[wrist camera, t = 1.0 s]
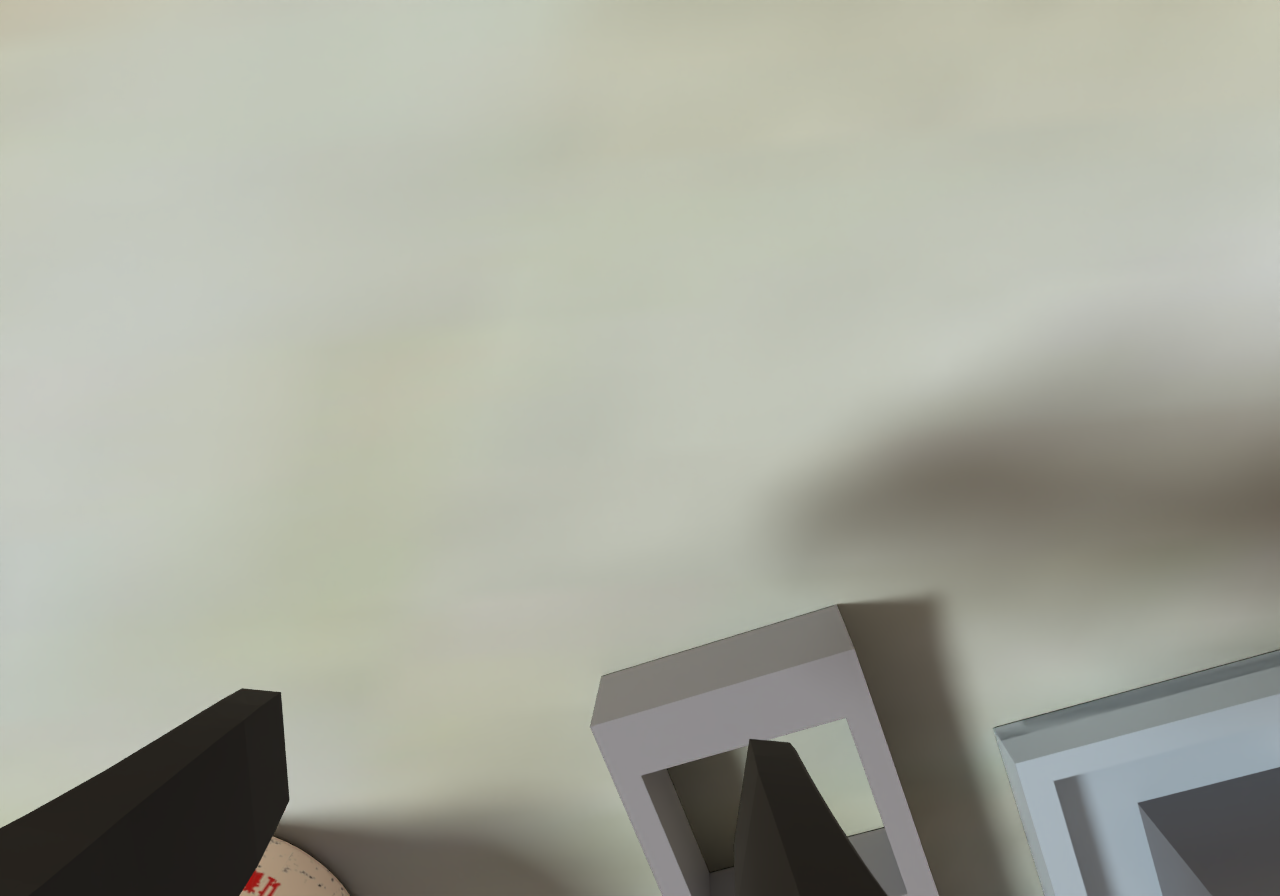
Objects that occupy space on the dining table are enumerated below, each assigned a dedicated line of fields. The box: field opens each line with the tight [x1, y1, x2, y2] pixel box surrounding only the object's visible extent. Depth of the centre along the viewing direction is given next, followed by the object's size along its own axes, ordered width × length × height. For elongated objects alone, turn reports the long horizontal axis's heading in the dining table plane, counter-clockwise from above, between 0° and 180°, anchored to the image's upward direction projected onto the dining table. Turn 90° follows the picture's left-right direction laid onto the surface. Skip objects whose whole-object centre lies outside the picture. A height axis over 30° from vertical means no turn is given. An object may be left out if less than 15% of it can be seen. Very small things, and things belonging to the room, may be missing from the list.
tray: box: [993, 650, 1280, 896], centre depth 22 cm, size 10×10×2 cm
